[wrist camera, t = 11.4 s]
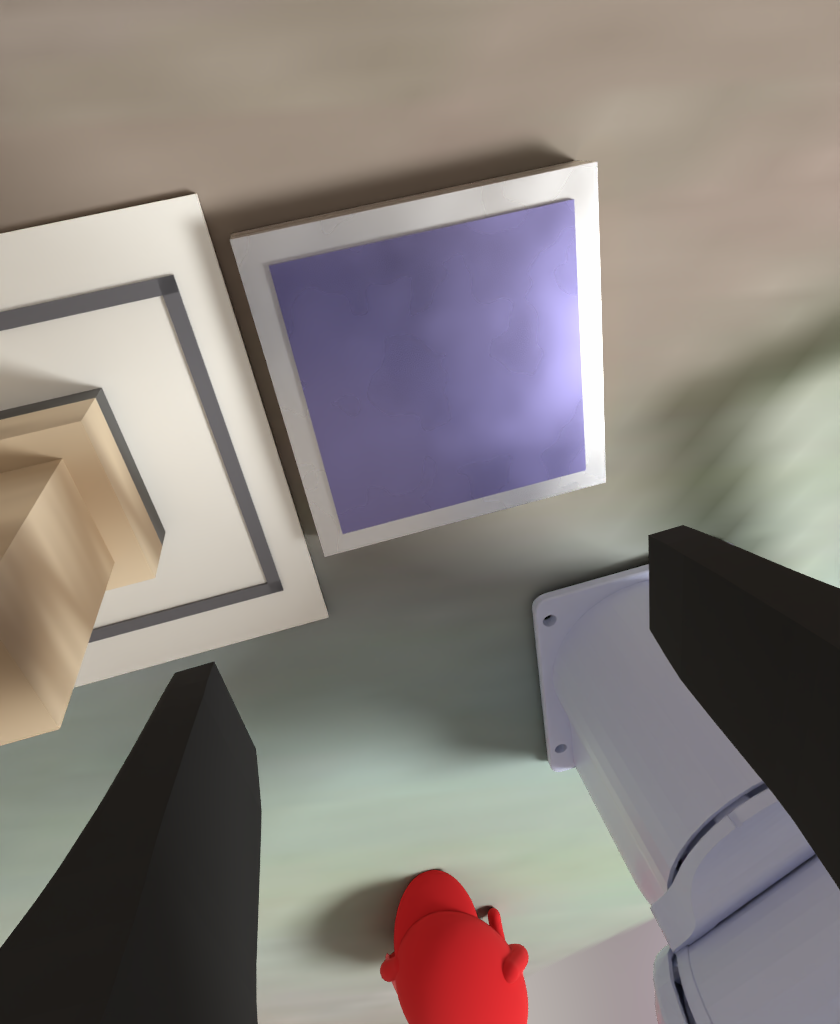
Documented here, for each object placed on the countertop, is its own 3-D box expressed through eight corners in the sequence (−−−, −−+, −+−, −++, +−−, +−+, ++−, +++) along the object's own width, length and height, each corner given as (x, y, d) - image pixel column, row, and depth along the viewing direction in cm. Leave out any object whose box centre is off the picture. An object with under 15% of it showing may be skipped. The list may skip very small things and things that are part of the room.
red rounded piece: (554, 992, 32) (579, 1015, 27) (459, 1089, 30) (465, 1134, 25) (451, 846, 35) (456, 841, 30) (359, 926, 33) (347, 936, 28)
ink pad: (589, 466, 22) (607, 484, 21) (321, 536, 21) (324, 559, 20) (576, 160, 17) (600, 161, 16) (230, 233, 16) (229, 240, 15)
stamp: (165, 532, 19) (118, 744, 12) (7, 572, 19) (-132, 815, 12) (101, 387, 17) (0, 551, 10) (-80, 429, 17) (-313, 630, 10)
